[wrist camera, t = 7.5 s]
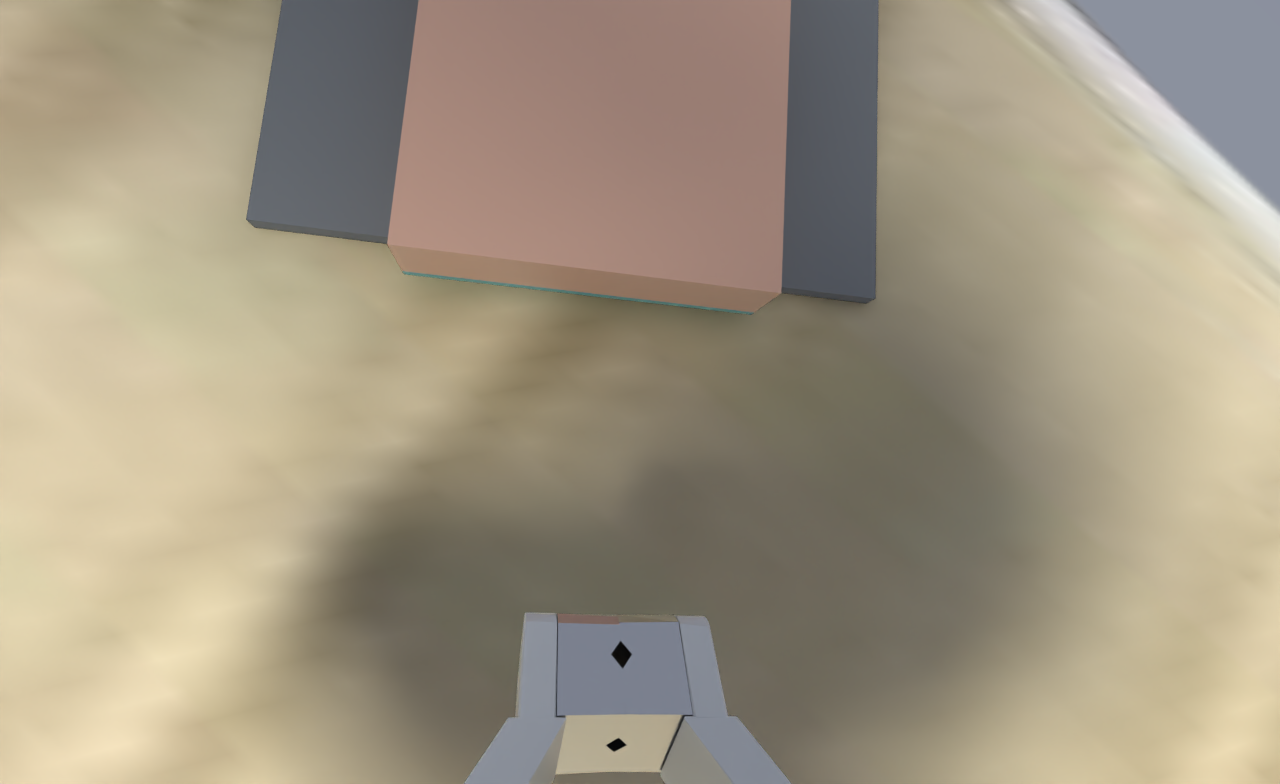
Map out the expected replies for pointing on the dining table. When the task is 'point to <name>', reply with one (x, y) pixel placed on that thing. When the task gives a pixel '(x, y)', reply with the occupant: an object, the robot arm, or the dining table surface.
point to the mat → (374, 109)
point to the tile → (598, 148)
